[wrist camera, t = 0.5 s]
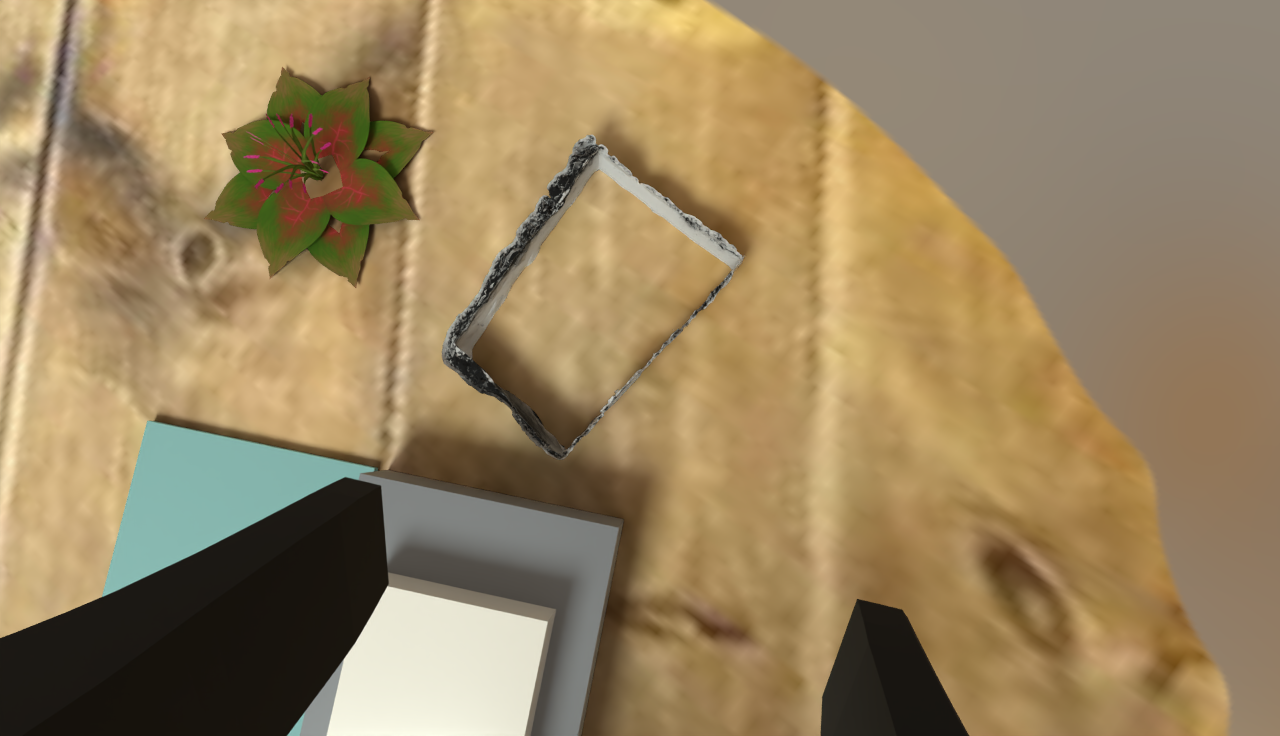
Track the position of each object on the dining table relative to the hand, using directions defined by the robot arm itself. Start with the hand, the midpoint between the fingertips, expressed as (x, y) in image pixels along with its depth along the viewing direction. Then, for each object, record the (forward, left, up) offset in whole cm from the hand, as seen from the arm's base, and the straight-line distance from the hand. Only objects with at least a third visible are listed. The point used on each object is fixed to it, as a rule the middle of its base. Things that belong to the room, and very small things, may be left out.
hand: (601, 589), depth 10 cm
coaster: (-10, +7, -20) cm, 24 cm away
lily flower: (+12, +20, -24) cm, 33 cm away
